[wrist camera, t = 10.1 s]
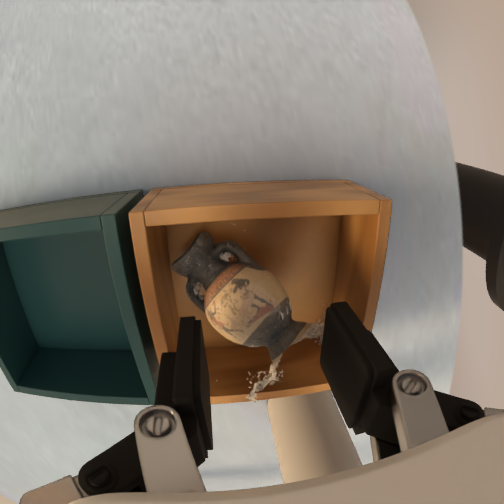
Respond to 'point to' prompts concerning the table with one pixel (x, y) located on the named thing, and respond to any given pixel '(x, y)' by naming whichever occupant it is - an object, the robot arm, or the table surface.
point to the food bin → (270, 257)
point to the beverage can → (310, 436)
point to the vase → (242, 300)
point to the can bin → (75, 302)
